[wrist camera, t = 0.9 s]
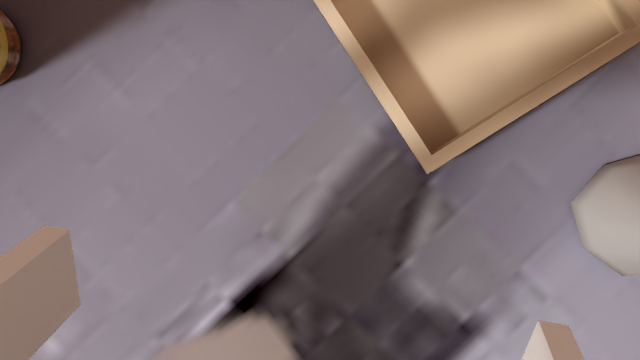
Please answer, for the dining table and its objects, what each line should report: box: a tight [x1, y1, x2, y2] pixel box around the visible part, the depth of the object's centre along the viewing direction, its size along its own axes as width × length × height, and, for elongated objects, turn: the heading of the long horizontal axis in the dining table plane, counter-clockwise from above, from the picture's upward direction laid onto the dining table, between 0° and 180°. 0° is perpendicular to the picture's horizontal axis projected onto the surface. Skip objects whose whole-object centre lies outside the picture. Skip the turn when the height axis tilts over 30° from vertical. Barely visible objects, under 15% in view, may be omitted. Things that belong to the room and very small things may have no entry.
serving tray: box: [314, 0, 640, 174], centre depth 26 cm, size 14×14×2 cm
